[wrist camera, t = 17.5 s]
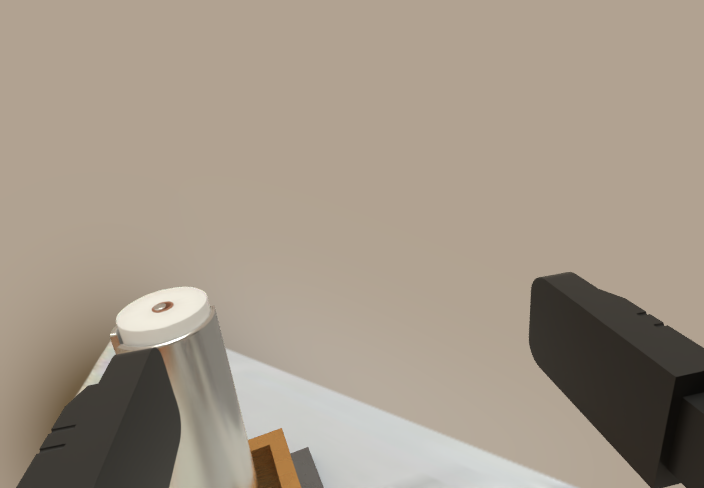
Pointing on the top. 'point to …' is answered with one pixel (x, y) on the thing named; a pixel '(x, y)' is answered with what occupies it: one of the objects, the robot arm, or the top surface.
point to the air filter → (193, 385)
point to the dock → (282, 463)
